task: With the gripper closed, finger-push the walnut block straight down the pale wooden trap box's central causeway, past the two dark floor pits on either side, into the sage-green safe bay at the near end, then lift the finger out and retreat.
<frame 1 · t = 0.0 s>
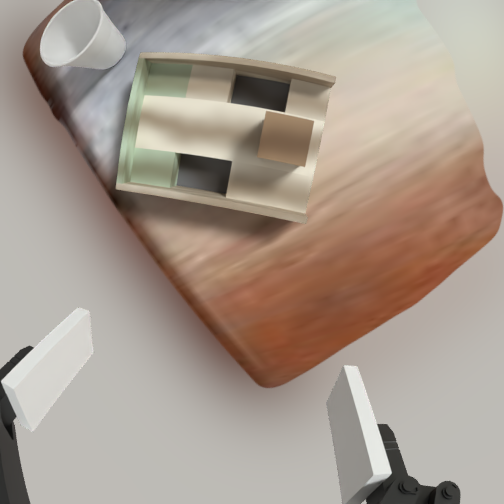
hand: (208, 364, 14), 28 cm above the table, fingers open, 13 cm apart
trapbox: (225, 132, 37), on the table
block: (283, 141, 34), point 3 cm above the table, touching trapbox
cup: (109, 52, 34), on the table
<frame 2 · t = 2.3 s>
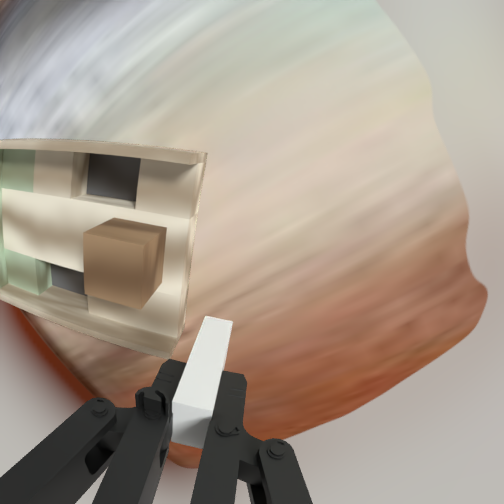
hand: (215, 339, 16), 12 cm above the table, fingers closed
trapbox: (86, 227, 28), on the table
block: (137, 250, 25), point 3 cm above the table, touching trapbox
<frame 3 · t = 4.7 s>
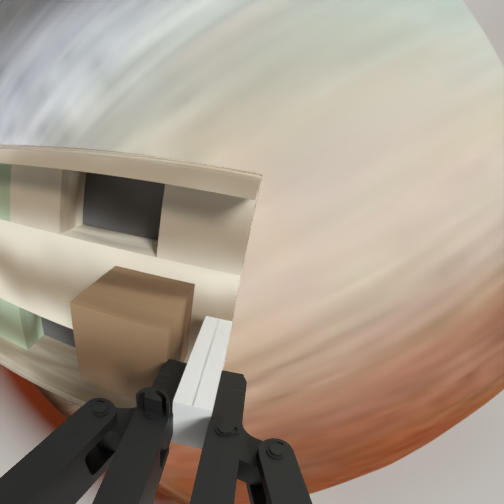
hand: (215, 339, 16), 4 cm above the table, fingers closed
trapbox: (84, 268, 20), on the table
block: (151, 311, 18), point 3 cm above the table, touching gripper, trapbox
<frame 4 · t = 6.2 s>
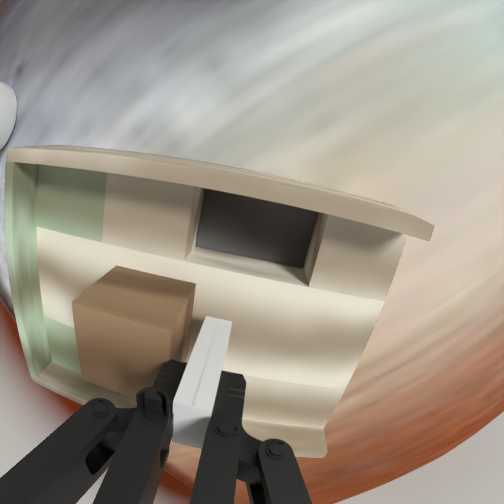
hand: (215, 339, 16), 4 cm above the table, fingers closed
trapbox: (190, 294, 20), on the table
block: (152, 311, 18), point 3 cm above the table, touching gripper, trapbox
cup: (0, 118, 17), on the table
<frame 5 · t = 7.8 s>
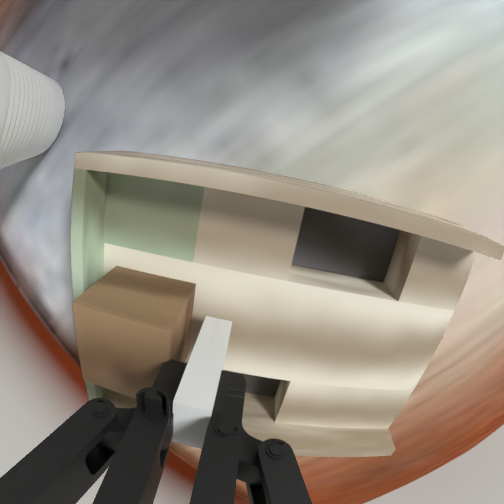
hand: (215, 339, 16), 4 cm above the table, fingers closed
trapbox: (274, 310, 20), on the table
block: (152, 311, 18), point 3 cm above the table, touching gripper, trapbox
cup: (40, 117, 17), on the table
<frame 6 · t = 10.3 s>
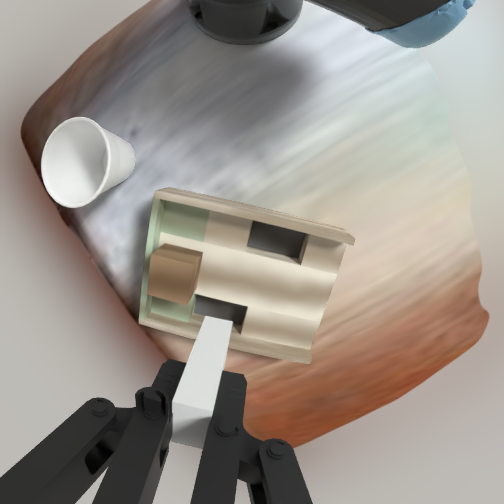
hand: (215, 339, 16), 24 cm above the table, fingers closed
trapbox: (241, 270, 41), on the table
block: (180, 266, 38), point 3 cm above the table, touching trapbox
cup: (117, 160, 38), on the table
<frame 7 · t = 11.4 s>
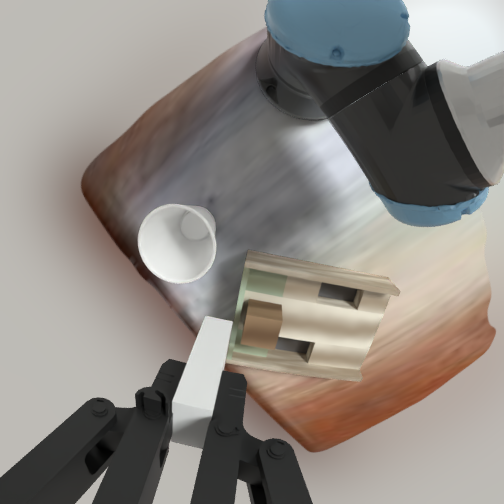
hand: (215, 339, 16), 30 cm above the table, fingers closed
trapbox: (308, 313, 49), on the table
block: (262, 315, 46), point 3 cm above the table, touching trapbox
cup: (196, 224, 46), on the table
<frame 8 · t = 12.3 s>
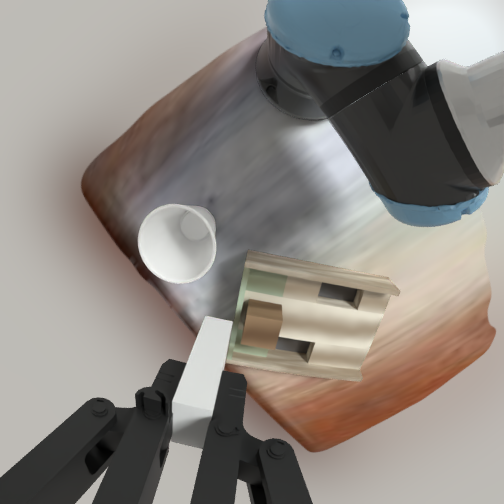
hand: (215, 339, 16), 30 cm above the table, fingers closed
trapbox: (308, 313, 49), on the table
block: (262, 315, 46), point 3 cm above the table, touching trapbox
cup: (196, 224, 46), on the table
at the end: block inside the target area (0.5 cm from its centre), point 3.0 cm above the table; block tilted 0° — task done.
